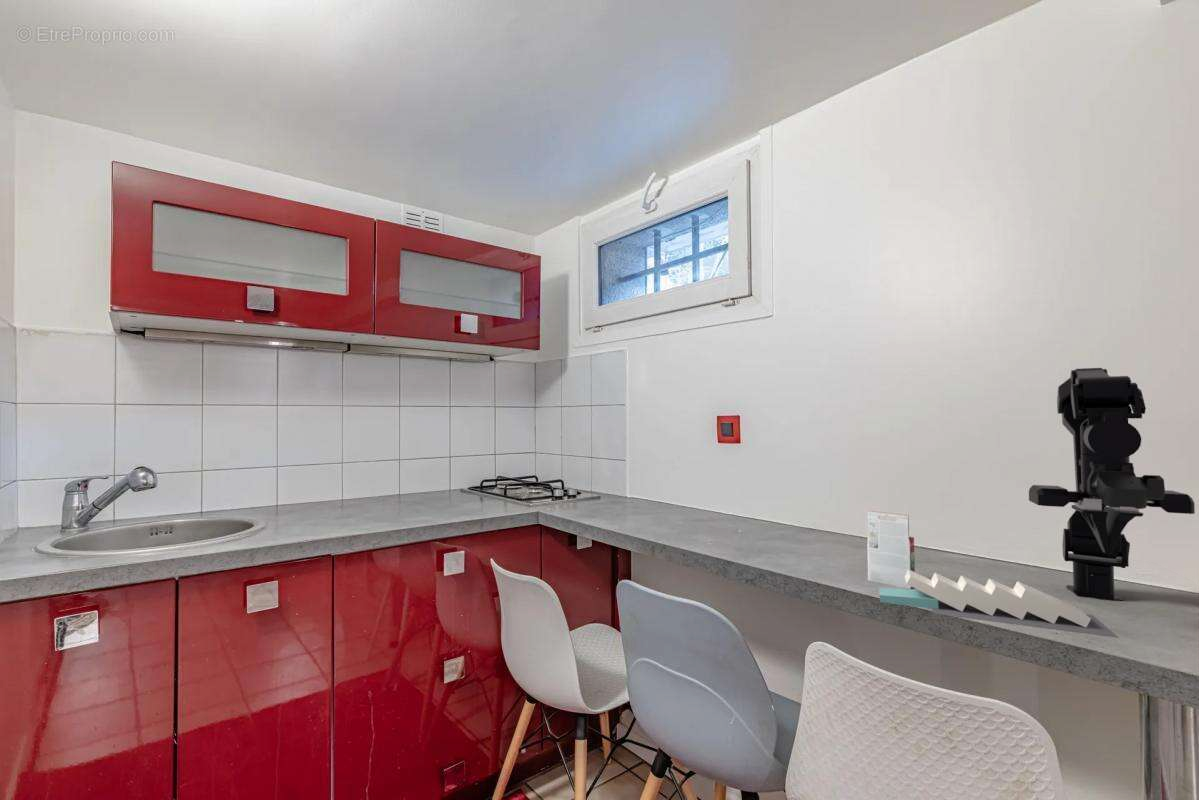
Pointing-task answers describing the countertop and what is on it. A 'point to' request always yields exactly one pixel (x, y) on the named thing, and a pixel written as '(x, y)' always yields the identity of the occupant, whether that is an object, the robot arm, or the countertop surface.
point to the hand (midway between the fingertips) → (1107, 552)
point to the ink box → (889, 549)
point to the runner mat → (1026, 620)
